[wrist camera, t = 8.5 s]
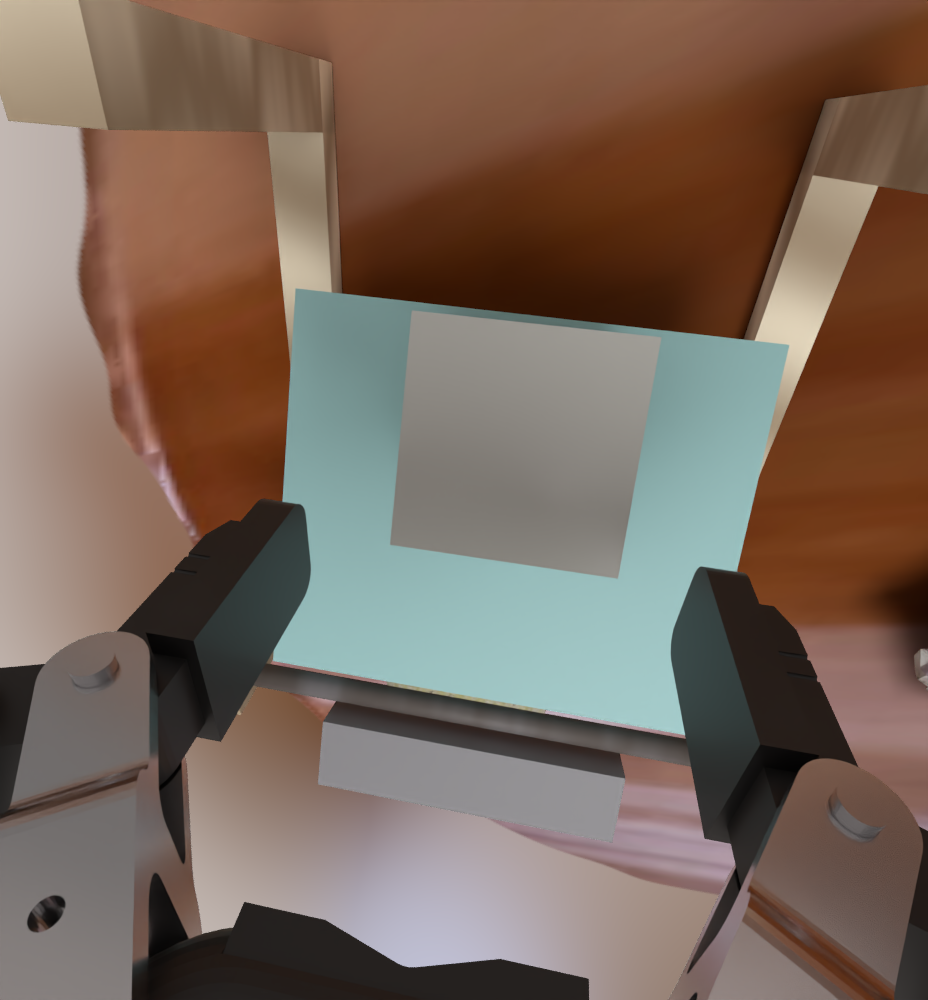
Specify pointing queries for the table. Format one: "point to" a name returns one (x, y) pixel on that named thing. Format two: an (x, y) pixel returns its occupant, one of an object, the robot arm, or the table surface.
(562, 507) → the grey cube
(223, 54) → the frame
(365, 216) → the table surface
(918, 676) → the geode
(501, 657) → the trapdoor
